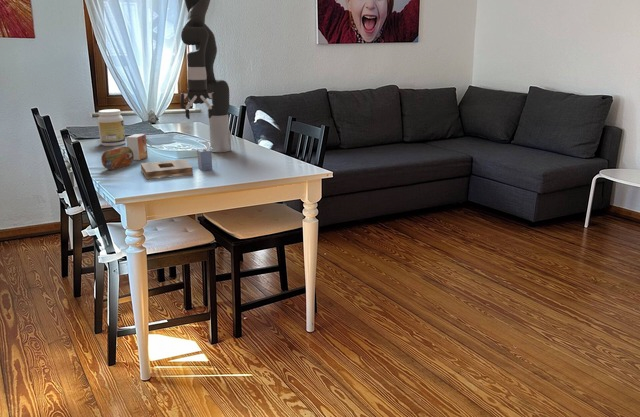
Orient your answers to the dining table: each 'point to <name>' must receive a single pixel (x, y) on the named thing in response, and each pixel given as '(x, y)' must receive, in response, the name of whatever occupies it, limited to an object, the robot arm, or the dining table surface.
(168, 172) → the pocket board
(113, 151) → the tin
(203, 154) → the block
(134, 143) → the small box
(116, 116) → the supplement tub
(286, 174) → the dining table surface
